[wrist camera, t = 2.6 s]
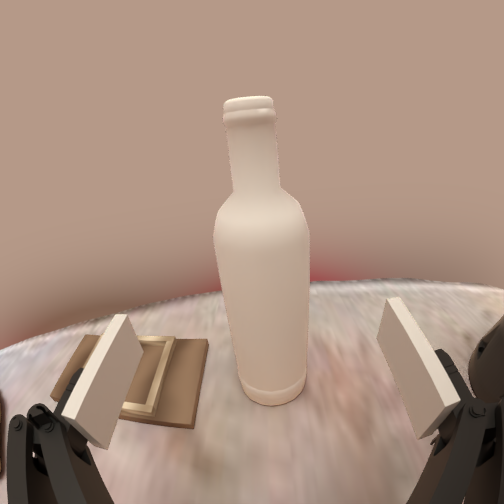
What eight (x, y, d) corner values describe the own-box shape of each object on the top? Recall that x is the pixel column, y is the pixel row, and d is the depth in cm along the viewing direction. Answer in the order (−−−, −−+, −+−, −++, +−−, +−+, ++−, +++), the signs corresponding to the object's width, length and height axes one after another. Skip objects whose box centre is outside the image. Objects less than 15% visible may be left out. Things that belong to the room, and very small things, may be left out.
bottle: (319, 382, 29) (326, 94, 16) (267, 419, 26) (229, 90, 12) (277, 348, 36) (258, 103, 22) (229, 377, 32) (177, 110, 18)
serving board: (208, 344, 37) (205, 333, 36) (193, 428, 25) (188, 420, 24) (88, 339, 39) (83, 329, 38) (54, 400, 26) (46, 391, 25)
